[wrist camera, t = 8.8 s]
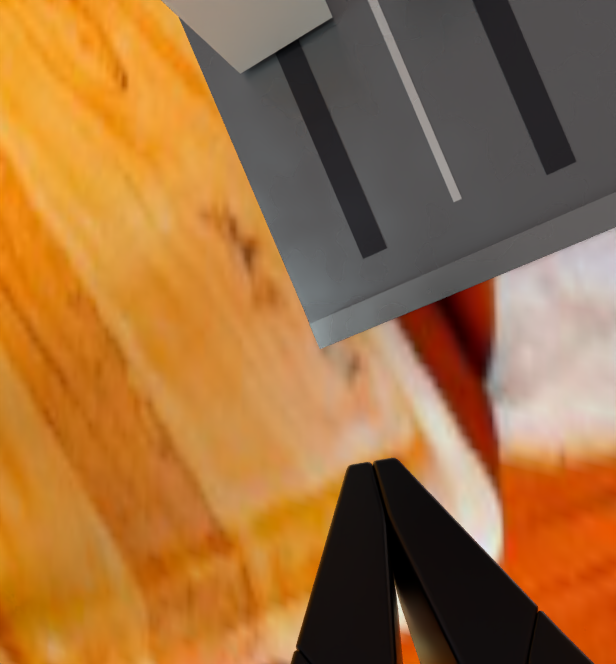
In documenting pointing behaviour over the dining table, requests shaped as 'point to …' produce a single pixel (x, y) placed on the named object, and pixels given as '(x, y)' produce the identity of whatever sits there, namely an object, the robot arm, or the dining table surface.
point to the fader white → (250, 25)
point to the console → (424, 146)
